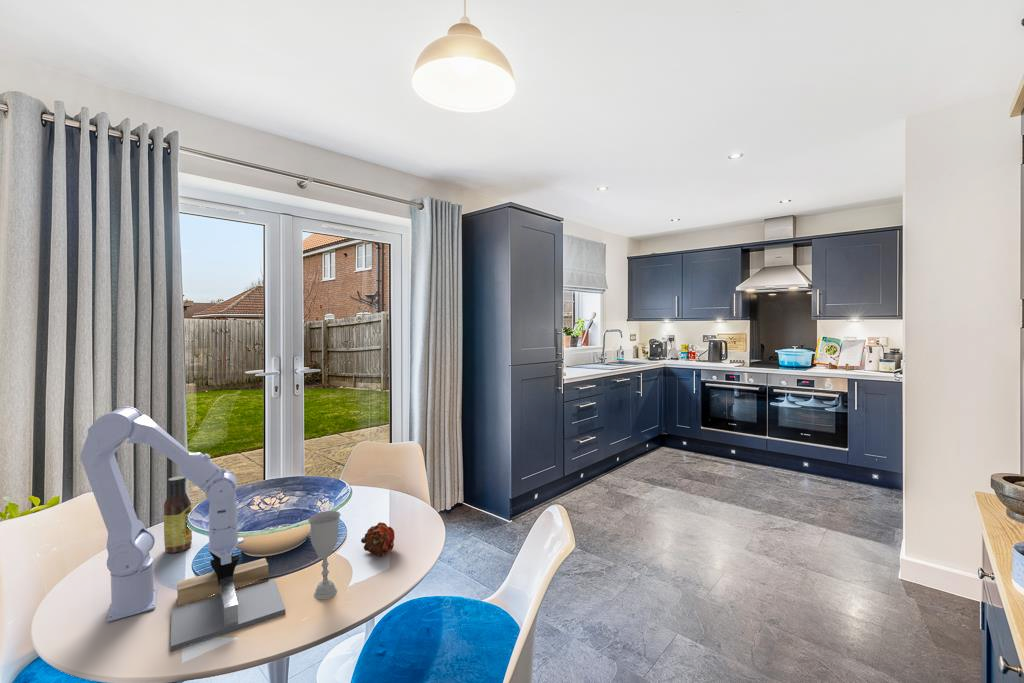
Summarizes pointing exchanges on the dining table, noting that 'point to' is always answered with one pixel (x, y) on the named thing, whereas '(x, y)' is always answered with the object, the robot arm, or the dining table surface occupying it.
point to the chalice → (324, 547)
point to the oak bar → (209, 583)
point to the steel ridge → (228, 601)
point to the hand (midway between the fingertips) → (224, 581)
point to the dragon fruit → (379, 539)
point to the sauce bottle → (177, 517)
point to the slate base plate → (208, 617)
